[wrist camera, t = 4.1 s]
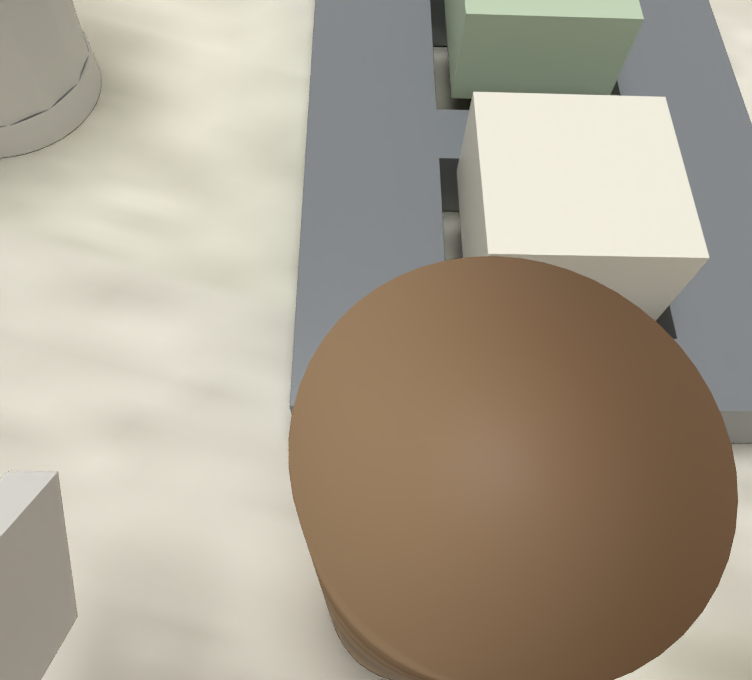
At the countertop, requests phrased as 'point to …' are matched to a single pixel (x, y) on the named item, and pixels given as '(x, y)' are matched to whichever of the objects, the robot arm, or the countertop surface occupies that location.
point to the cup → (43, 74)
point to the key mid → (539, 45)
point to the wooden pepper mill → (509, 477)
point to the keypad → (441, 156)
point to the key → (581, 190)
